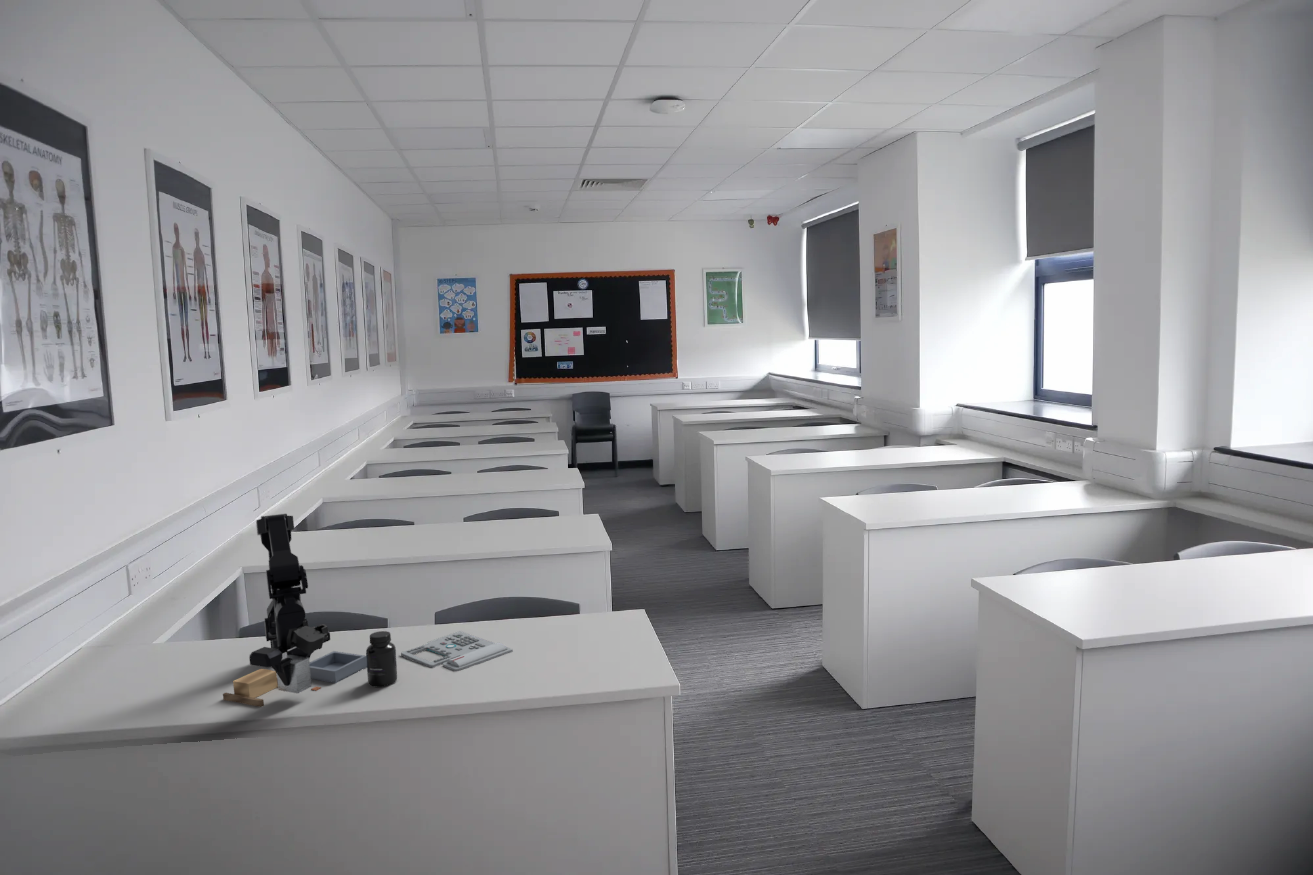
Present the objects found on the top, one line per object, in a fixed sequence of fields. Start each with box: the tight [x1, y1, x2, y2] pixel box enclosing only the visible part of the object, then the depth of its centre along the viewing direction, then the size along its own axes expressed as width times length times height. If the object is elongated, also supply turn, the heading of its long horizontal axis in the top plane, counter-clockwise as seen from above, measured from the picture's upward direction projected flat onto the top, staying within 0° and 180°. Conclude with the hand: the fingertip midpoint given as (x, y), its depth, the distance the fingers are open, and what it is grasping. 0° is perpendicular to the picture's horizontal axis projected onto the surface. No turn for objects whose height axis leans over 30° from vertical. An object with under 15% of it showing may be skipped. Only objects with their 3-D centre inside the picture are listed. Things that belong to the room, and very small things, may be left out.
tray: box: [309, 650, 367, 684], centre depth 214 cm, size 11×11×3 cm
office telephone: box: [400, 630, 513, 672], centre depth 224 cm, size 23×3×20 cm
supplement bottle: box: [365, 630, 398, 688], centre depth 206 cm, size 7×7×12 cm
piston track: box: [222, 679, 322, 708], centre depth 201 cm, size 17×13×2 cm
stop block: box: [277, 655, 312, 694], centre depth 197 cm, size 6×4×7 cm, turn 67°
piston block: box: [232, 668, 278, 698], centre depth 202 cm, size 5×8×4 cm, turn 157°
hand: (294, 681), depth 197 cm, fingers closed on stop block, 4 cm apart
